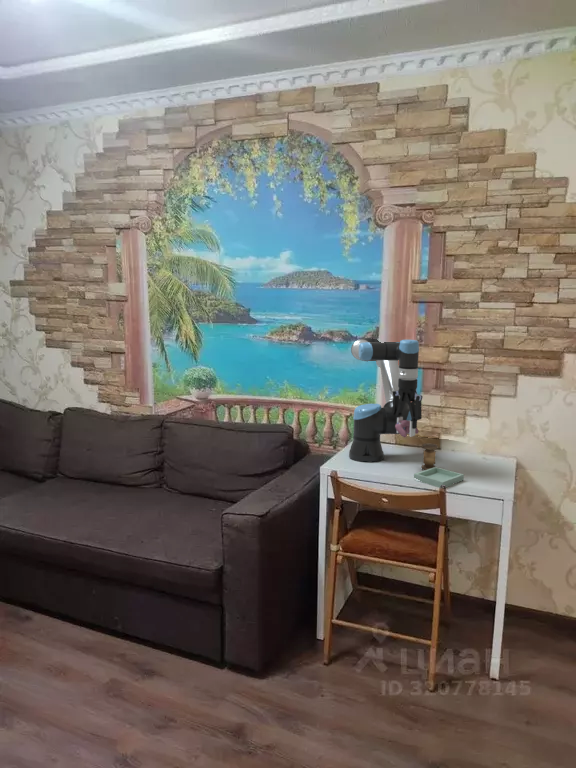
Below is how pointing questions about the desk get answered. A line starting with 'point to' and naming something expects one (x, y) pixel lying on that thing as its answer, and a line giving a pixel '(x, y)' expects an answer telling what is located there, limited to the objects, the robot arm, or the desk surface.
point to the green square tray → (439, 477)
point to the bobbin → (429, 456)
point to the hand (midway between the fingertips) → (405, 434)
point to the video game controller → (401, 425)
